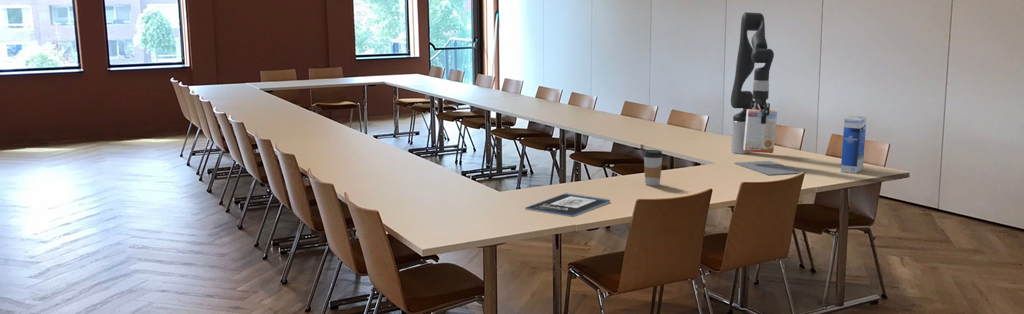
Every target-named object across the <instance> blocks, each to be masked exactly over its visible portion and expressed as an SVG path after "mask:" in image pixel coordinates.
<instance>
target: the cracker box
mask: <svg viewBox="0 0 1024 314" xmlns="http://www.w3.org/2000/svg"><path fill="white" fill-rule="evenodd" d="M766 112H767V111H766ZM763 114H764V112H763ZM761 116H762V115H761V112H760V111H759V110H756V109H747V112H746V124H745V136H744V147H743V150H744V151H745V152H749V153H766V154H774V149H775V139H776V137H775V136H776V130H777V129H776V127H777V116H778V111H776V110H774V109H773V110H771V109H770V111H769V115H767V116H766V124H761Z"/></svg>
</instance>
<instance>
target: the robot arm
mask: <svg viewBox="0 0 1024 314" xmlns="http://www.w3.org/2000/svg"><path fill="white" fill-rule="evenodd" d="M765 23H766V22H765V17H764V14H763V13H760V12H743V14H742V16H741V21H740V34H739V46H738V49H737V50H738V52H737V57H736V58H737V59H736V63H735V65H736V66H735V75H734V81H733V85H732V90H731V95H730V105H731V108H733V109H741V111H740V112H739V113H736V114H734V115H733V117H732V134H731V150H730V151H731V152H732V153H733V154H741V155H742V154H743V155H745V154H750V152H745V151H744V150H743V147H744V136H745V124H746V112H747V109H756V110H759V111H760V112H761V115H762V116H761V124H766V116H767V115H769V111H770V110H771V109H770V108H771V104H770V103H769V102H767V100H768V99H769V95H770V94H769V93H770V92H769V91H770V83H769V82H770V70H771V66H772V63H773V60H774V58H775V53H774V51H773V49H771V48H768V43H767V39H766V26H765V25H766V24H765ZM748 31H749V32H750V31H751V32H755V33H754V34H753V35H752V37H751V39H750V40H751V43H750V41H749V37H748ZM756 64H764V65H763V66H760V67H757V68H755V65H756ZM752 73H753V74H754V75H753V84H752V86H753V87H752V91H750V90H742V88H743V86H744V83H745V82H746V80H747V79H748V78H749V77H750V75H751V74H752ZM766 111H767V112H766ZM763 112H764V114H763Z"/></svg>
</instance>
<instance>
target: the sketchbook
mask: <svg viewBox="0 0 1024 314" xmlns="http://www.w3.org/2000/svg"><path fill="white" fill-rule="evenodd" d="M610 203H611V200H610V199H609V198H605V197H597V196H591V195H584V194H576V193H571V192H569V193H568V192H565V193H563V194H560V195H556V196H554V197H551V198H549V199H546V200H543V201H540V202H537V203H534V204H531V205H529V206H525V207H524V208H525V209H524V210H528V211H535V212H536V211H537V212H542V213H548V214H553V215H560V216H565V217H575V216H578V215H581V214H584V213H586V212H589V211H591V210H593V209H597V208H599V207H603V206H604V205H607V204H610Z"/></svg>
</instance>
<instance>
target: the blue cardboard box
mask: <svg viewBox="0 0 1024 314" xmlns="http://www.w3.org/2000/svg"><path fill="white" fill-rule="evenodd" d="M843 120H844V121H843V133H842V147H841V148H842V149H841V161H840V162H841V163H840V164H841V165H840V172H841V173H847V172H848V173H849V174H858V173H859V172H861V171H862V170H863V169H864V159H865V158H864V156H865V145H866V144H865V143H866V129H867V116H862V115H849V116H848V117H845V118H843ZM857 172H858V173H857Z"/></svg>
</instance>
